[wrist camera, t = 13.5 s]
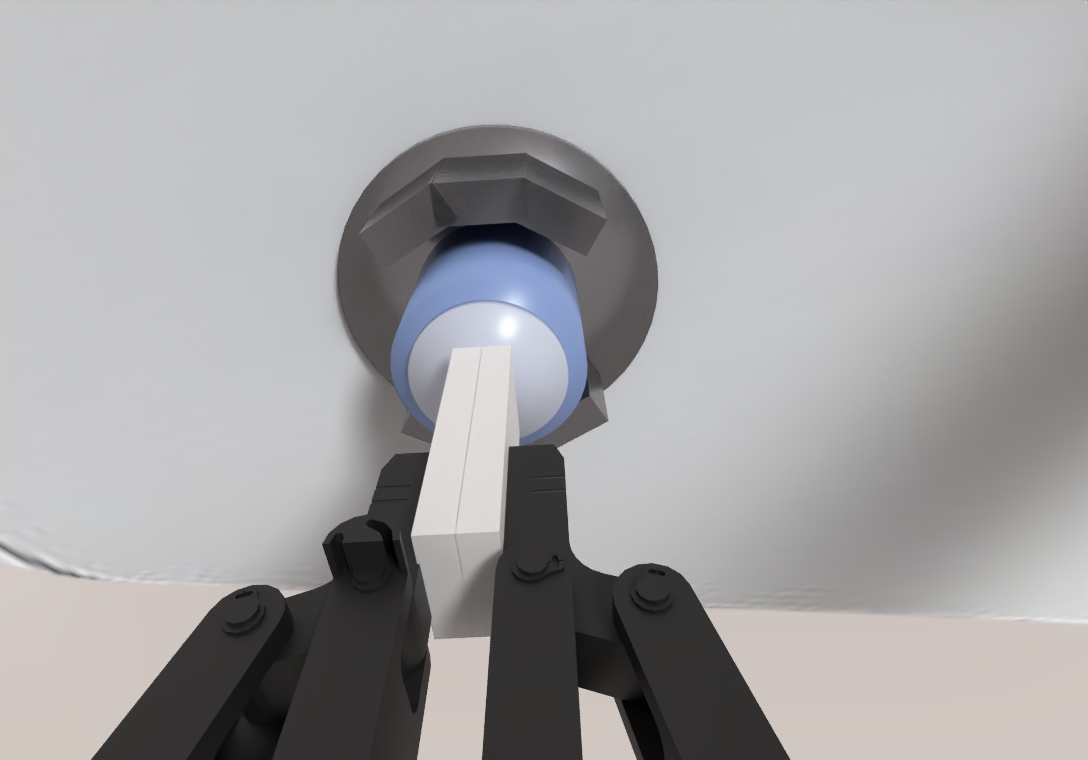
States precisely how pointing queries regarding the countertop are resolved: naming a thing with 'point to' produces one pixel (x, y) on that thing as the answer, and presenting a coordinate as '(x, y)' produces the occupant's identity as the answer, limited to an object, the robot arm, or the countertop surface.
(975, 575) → the countertop surface
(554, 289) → the blue dome-topped cylinder
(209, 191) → the countertop surface
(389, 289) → the disc
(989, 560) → the countertop surface
